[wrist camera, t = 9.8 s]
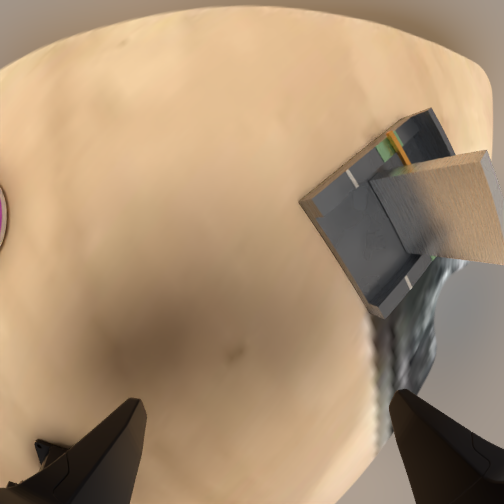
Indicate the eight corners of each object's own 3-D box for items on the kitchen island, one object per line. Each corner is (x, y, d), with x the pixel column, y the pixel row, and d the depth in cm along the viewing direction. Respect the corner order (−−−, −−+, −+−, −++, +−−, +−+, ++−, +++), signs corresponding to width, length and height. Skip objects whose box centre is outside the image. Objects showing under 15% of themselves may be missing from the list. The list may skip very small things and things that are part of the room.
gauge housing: (369, 312, 22) (402, 326, 18) (298, 201, 19) (327, 196, 16) (448, 215, 24) (478, 214, 20) (401, 119, 22) (431, 107, 18)
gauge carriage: (416, 273, 22) (512, 291, 12) (352, 155, 19) (462, 120, 10) (438, 243, 23) (528, 250, 13) (382, 131, 20) (480, 97, 10)
